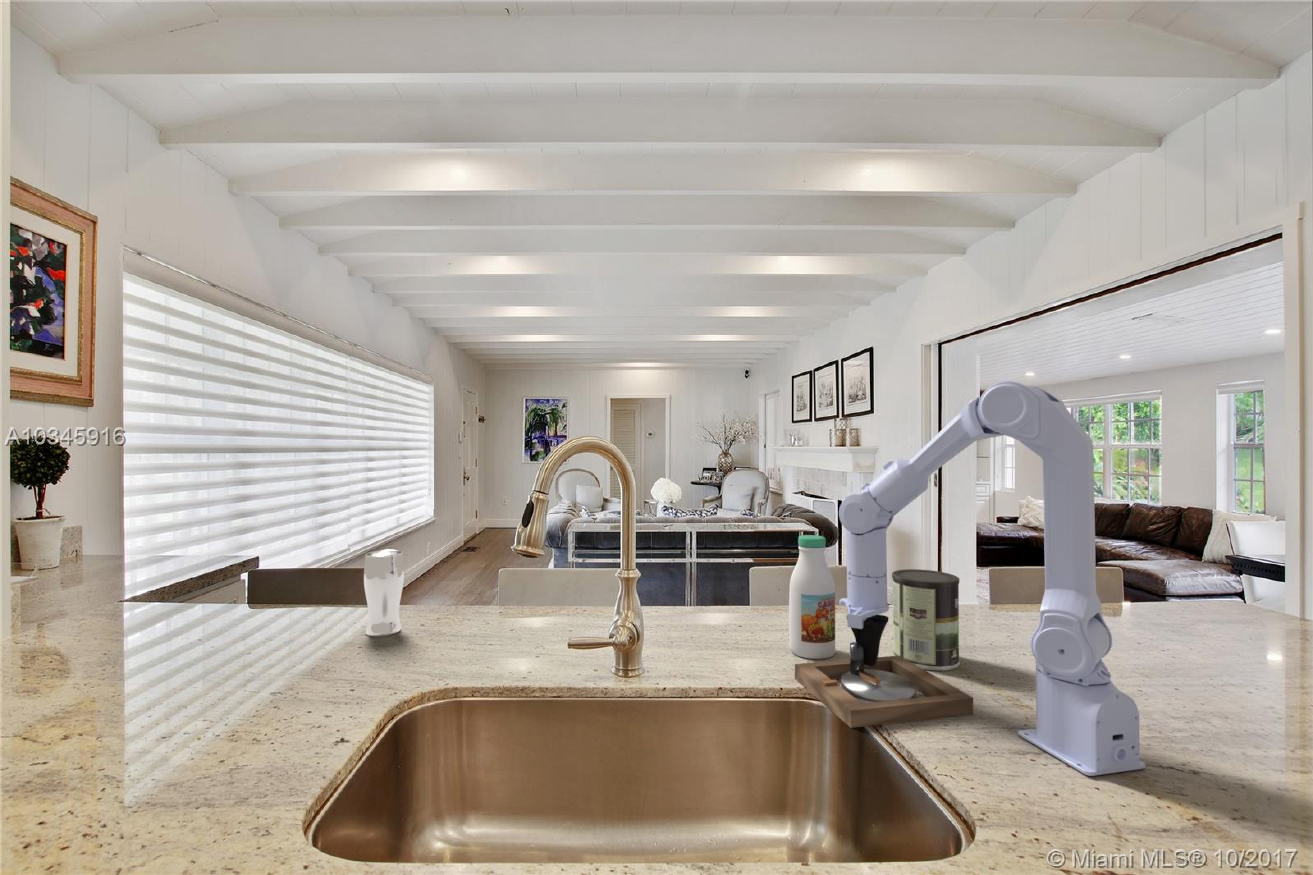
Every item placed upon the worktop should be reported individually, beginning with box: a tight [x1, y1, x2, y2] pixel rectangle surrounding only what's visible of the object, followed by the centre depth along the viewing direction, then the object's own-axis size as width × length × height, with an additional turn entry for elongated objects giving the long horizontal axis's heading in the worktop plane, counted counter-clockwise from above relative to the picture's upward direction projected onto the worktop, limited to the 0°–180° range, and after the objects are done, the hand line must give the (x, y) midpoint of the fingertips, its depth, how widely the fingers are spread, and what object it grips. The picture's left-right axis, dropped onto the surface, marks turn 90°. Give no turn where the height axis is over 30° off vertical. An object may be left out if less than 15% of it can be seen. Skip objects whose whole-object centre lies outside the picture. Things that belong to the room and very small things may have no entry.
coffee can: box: [891, 568, 961, 672], centre depth 98 cm, size 10×10×14 cm
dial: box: [840, 641, 917, 703], centre depth 84 cm, size 10×10×6 cm
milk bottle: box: [788, 534, 836, 660], centre depth 101 cm, size 8×8×20 cm
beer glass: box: [363, 549, 405, 637], centre depth 112 cm, size 7×7×15 cm
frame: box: [794, 655, 974, 729], centre depth 84 cm, size 16×18×3 cm
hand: (867, 664), depth 88 cm, fingers closed, pressing on dial
